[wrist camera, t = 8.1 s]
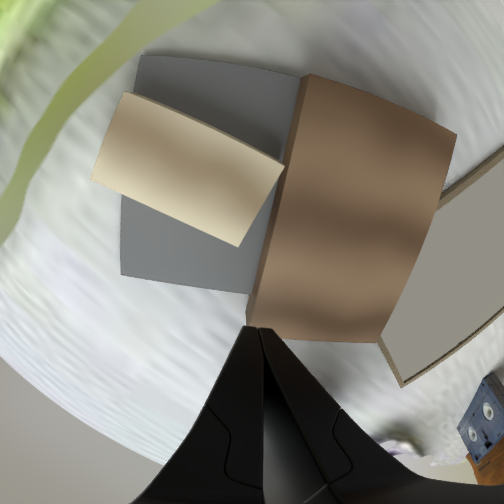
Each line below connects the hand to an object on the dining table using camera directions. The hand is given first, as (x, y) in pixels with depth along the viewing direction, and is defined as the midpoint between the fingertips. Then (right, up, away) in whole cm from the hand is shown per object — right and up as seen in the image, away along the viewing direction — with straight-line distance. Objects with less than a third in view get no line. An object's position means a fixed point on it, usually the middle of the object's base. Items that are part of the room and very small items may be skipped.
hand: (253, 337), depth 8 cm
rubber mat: (-3, +7, +9) cm, 11 cm away
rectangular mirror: (+23, +2, +14) cm, 26 cm away
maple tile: (-4, +7, +8) cm, 11 cm away
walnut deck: (+6, +4, +10) cm, 13 cm away
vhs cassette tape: (+39, -24, +27) cm, 53 cm away
